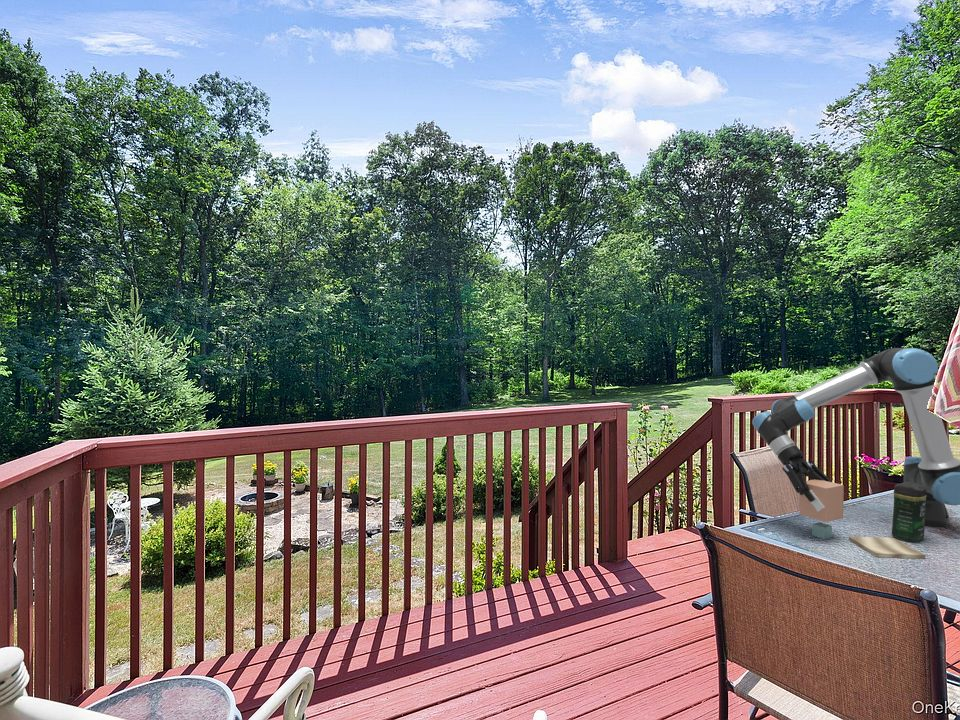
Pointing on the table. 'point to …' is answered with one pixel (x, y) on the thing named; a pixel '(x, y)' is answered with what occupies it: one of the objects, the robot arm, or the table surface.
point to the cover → (824, 500)
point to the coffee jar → (909, 511)
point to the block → (822, 530)
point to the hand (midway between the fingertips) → (830, 507)
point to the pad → (886, 547)
